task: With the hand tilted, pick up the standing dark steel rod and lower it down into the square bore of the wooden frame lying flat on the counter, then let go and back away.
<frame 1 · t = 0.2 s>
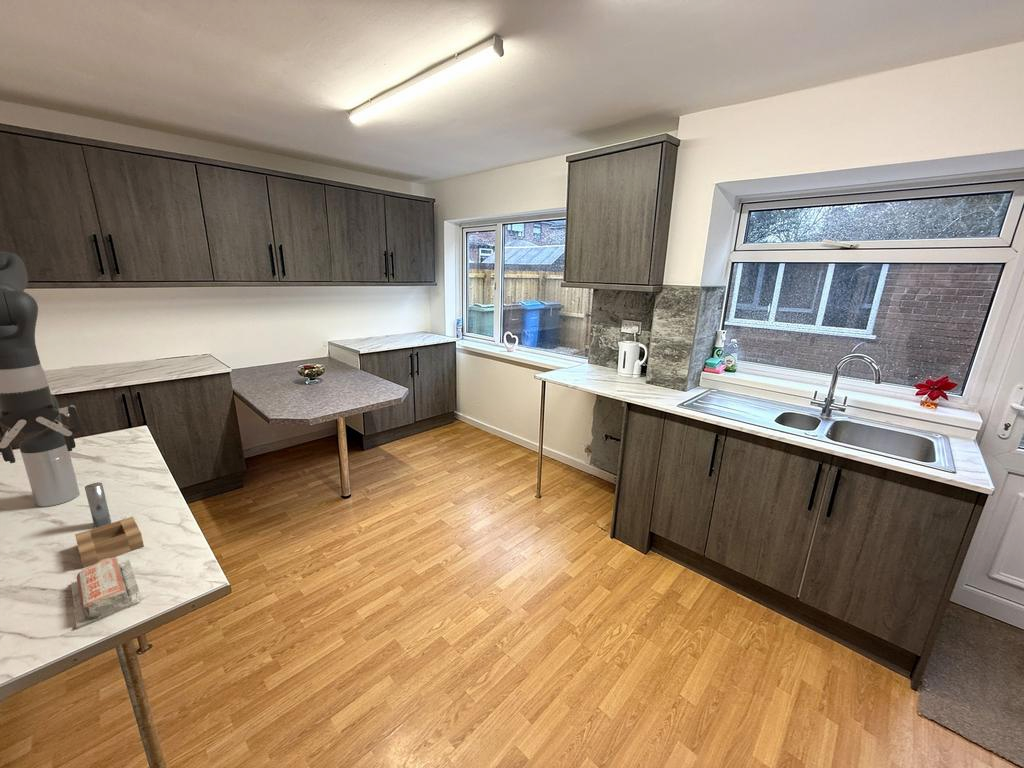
hand: (42, 455, 91), 29 cm above the table, tool pointing down, fingers open, 8 cm apart
packaged product: (106, 595, 91), on the table
steel rod: (102, 524, 114), on the table
wooden frame: (111, 547, 105), on the table
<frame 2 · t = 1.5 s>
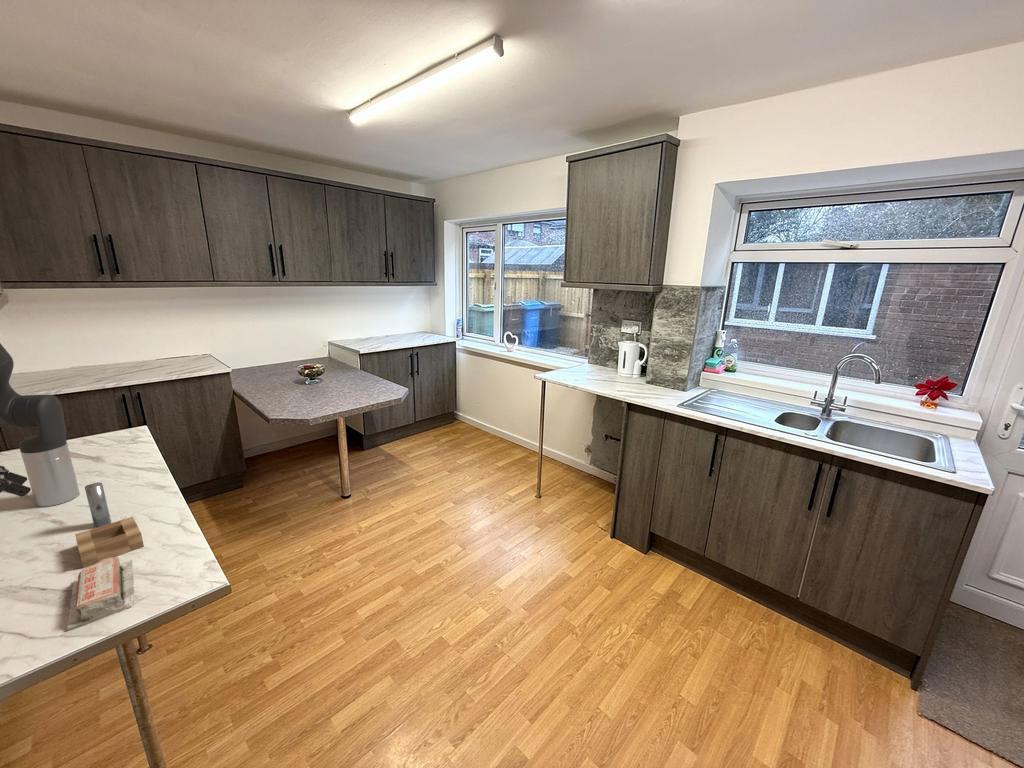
hand: (26, 487, 102), 16 cm above the table, tool tilted 45°, fingers open, 8 cm apart
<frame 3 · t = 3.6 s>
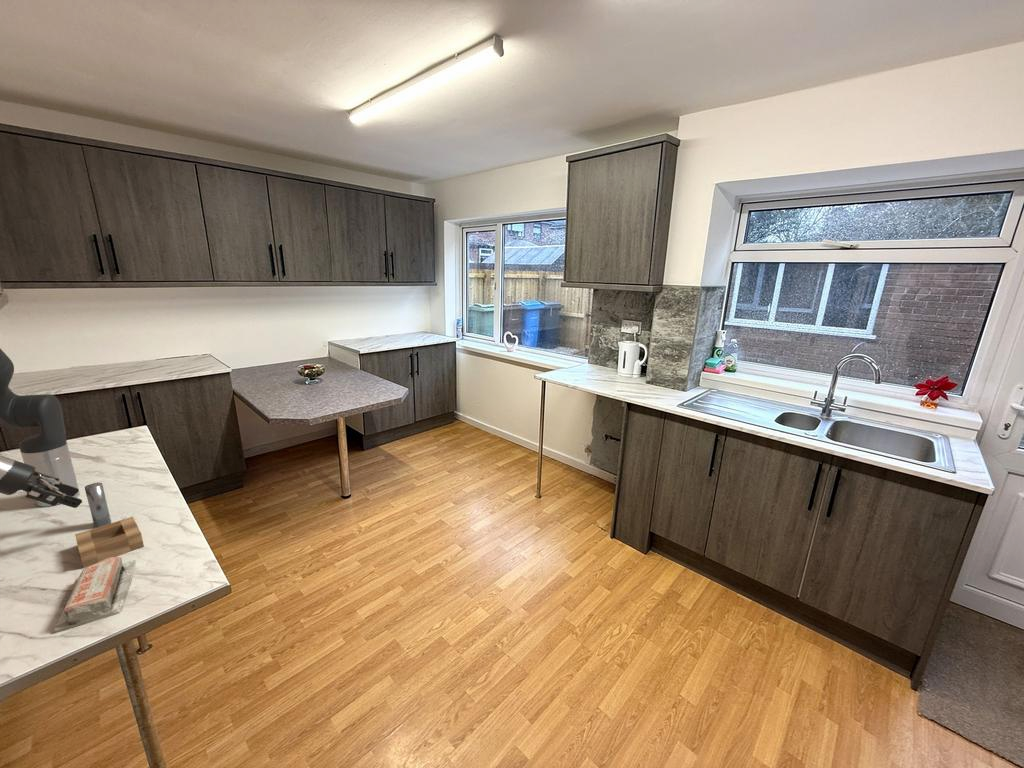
hand: (77, 498, 109), 10 cm above the table, tool tilted 45°, fingers open, 8 cm apart
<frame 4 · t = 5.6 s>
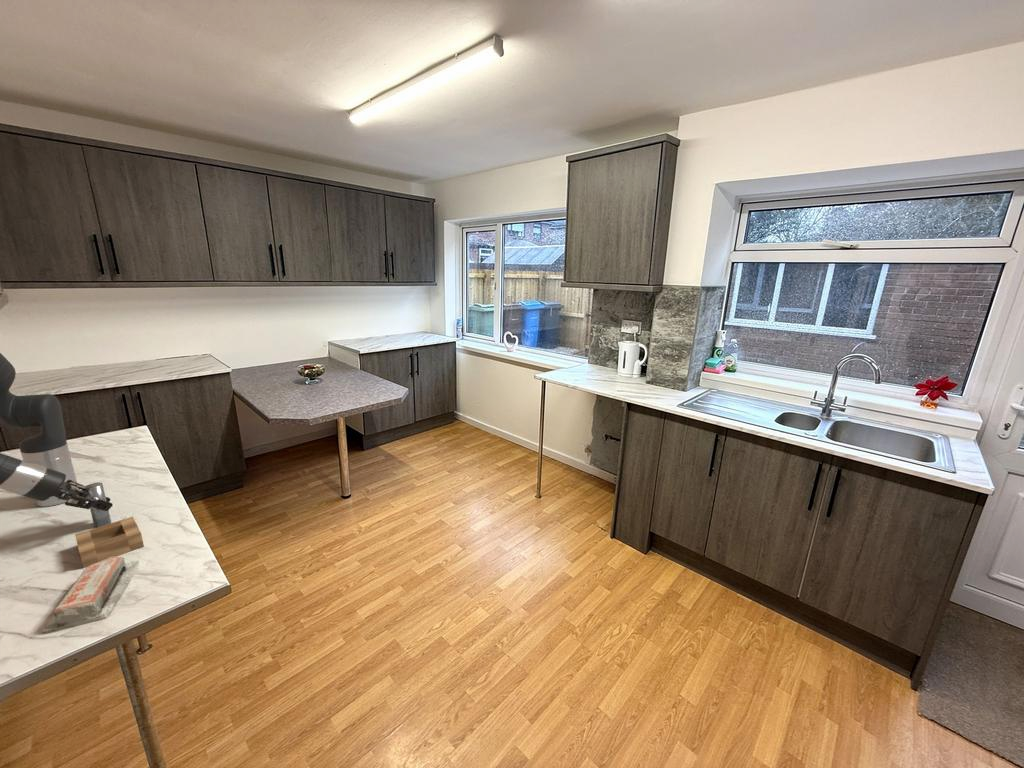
hand: (108, 504, 115), 5 cm above the table, tool tilted 45°, fingers closed on steel rod, 3 cm apart
steel rod: (102, 524, 114), on the table, touching gripper
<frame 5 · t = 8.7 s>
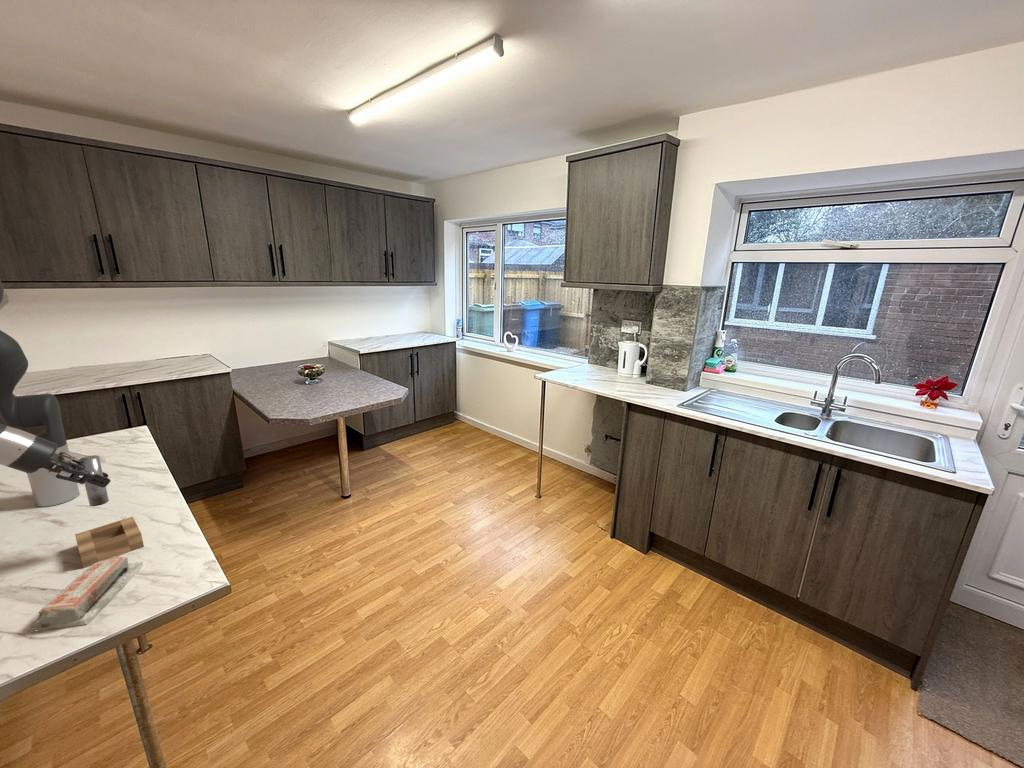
hand: (106, 480, 102), 18 cm above the table, tool tilted 45°, fingers closed on steel rod, 3 cm apart
steel rod: (99, 502, 102), point 13 cm above the table, touching gripper
when the fingers open (7 cm above the table, at t = 11.6 s): steel rod drops 2 cm, resting in wooden frame.
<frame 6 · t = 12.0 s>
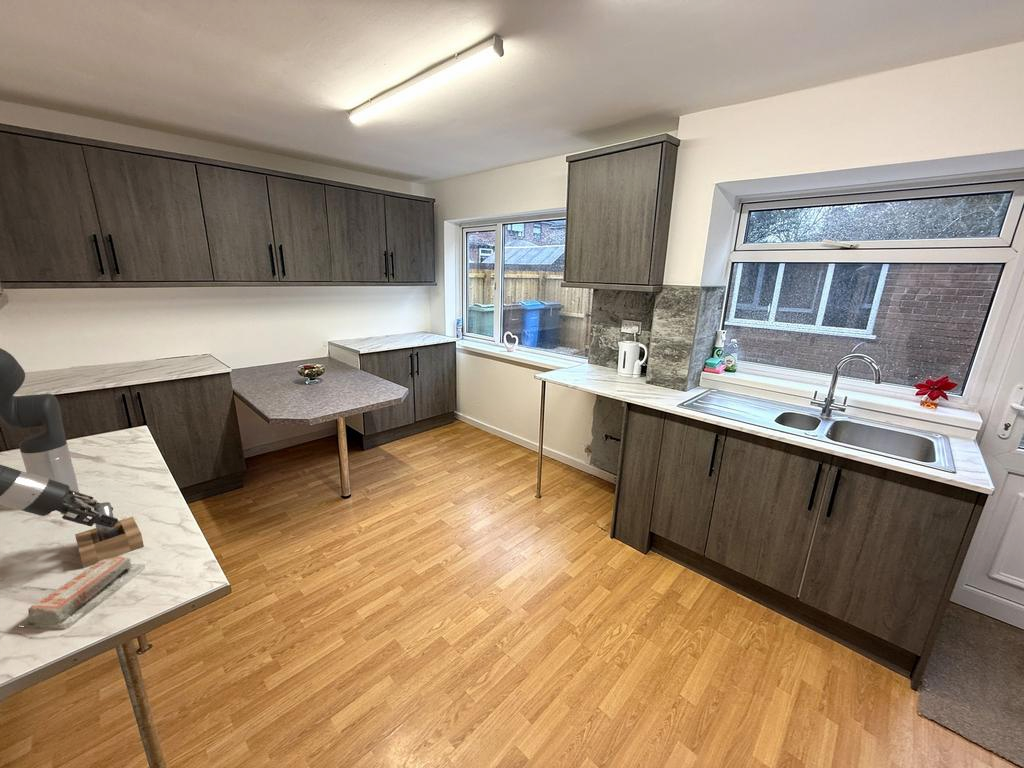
hand: (112, 517, 104), 8 cm above the table, tool tilted 45°, fingers open, 7 cm apart
steel rod: (110, 547, 105), resting in wooden frame
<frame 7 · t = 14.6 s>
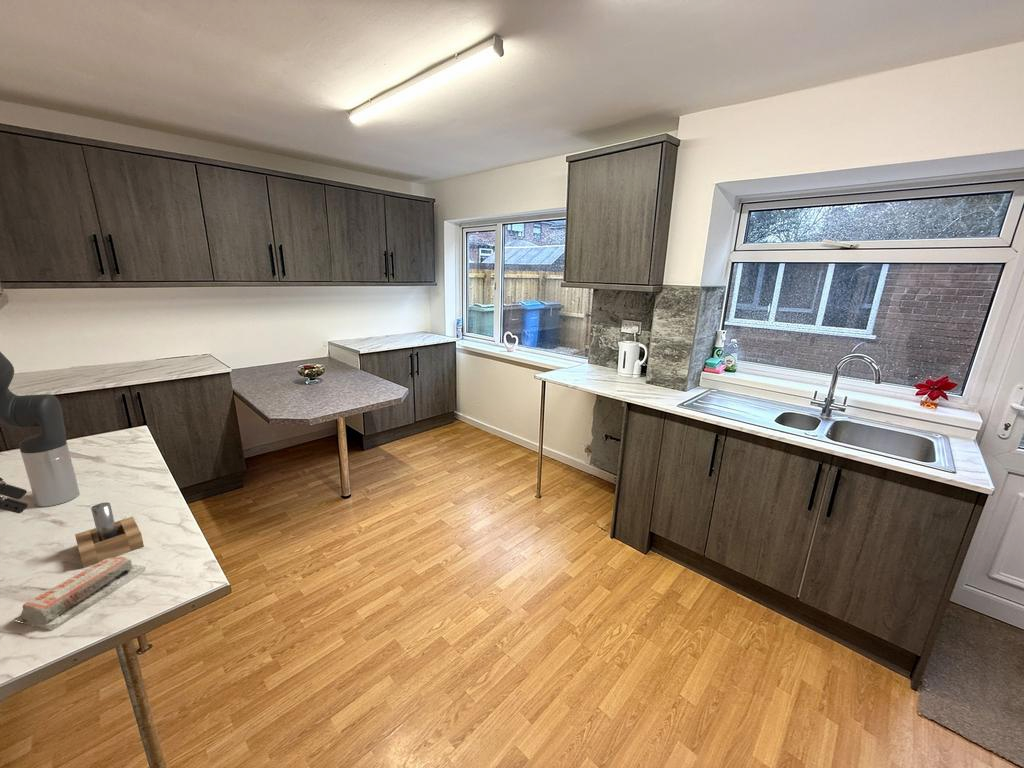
hand: (24, 501, 92), 18 cm above the table, tool tilted 45°, fingers open, 8 cm apart
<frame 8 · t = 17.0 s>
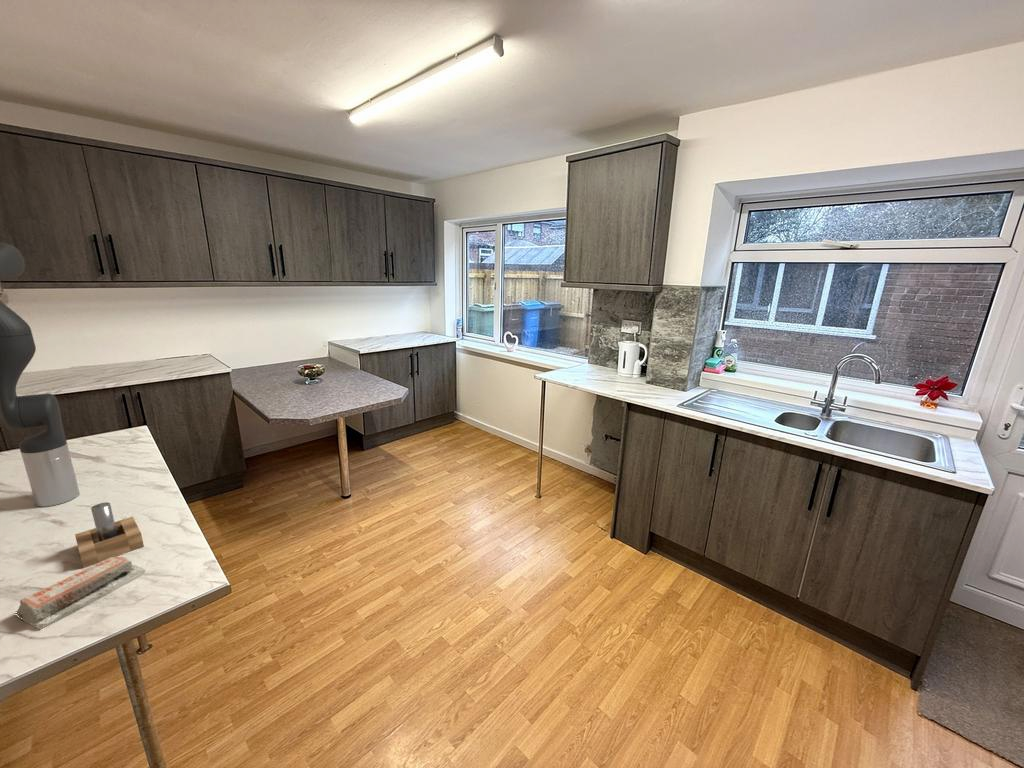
at the end: steel rod 0.1 cm from the wooden frame (horizontally); steel rod resting in wooden frame; steel rod tilted 0° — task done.
